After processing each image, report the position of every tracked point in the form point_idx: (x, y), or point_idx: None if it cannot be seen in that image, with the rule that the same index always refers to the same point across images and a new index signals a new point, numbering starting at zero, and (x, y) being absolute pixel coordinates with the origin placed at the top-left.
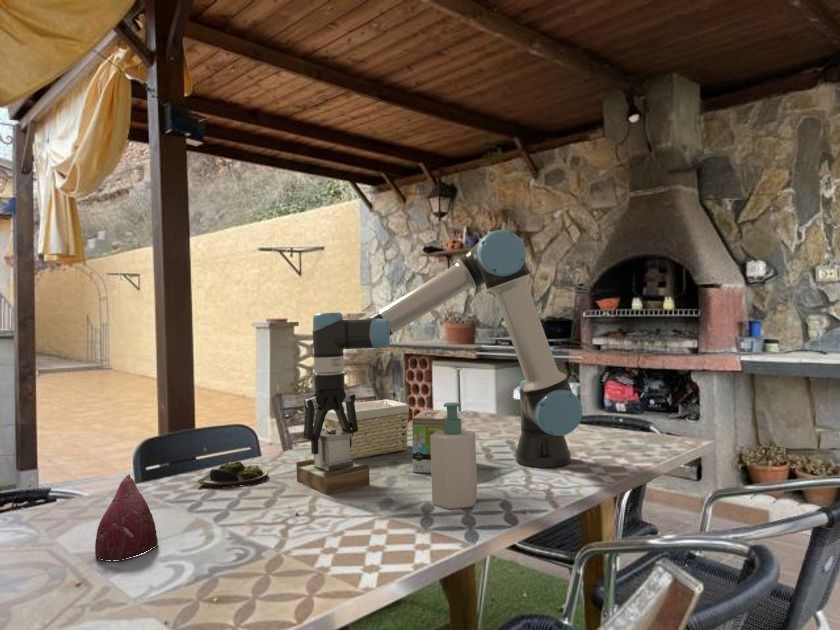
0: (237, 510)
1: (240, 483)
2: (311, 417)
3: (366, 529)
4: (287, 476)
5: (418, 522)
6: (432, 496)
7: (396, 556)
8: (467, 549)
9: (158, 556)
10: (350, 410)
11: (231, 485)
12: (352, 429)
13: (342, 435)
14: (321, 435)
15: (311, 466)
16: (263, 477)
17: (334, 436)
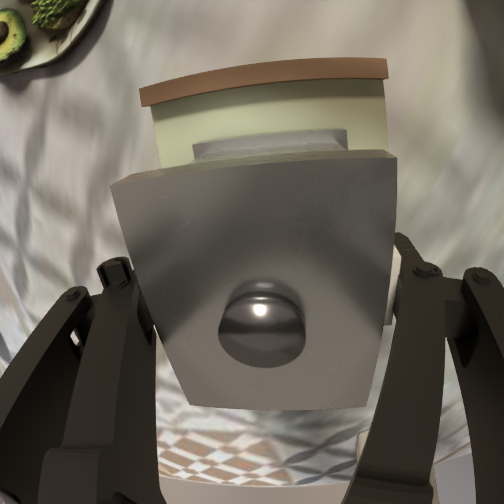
0: (33, 266)
1: (29, 68)
2: (48, 447)
3: (218, 441)
4: (168, 4)
5: (290, 455)
6: (359, 444)
7: (218, 473)
8: (282, 486)
9: (9, 349)
10: (484, 477)
11: (16, 72)
12: (448, 333)
13: (294, 406)
14: (168, 350)
15: (202, 138)
16: (79, 37)
17: (236, 407)
